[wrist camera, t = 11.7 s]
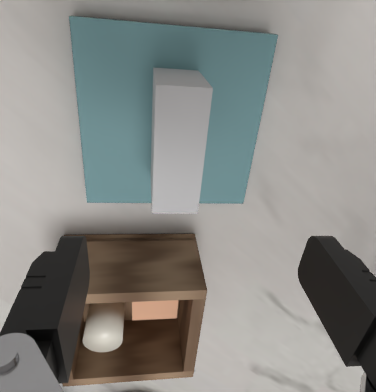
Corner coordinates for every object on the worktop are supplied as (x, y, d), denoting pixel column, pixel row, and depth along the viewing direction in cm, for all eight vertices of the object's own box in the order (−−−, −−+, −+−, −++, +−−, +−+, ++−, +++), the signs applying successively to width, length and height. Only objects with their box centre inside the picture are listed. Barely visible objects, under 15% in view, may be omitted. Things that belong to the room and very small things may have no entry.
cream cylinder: (124, 292, 32) (122, 327, 28) (125, 316, 34) (123, 351, 30) (87, 294, 31) (80, 329, 28) (90, 317, 33) (84, 353, 30)
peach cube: (175, 255, 30) (179, 287, 26) (173, 285, 32) (176, 318, 29) (133, 256, 29) (131, 289, 26) (133, 286, 31) (132, 320, 28)
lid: (268, 32, 22) (315, 43, 16) (237, 192, 28) (262, 242, 23) (74, 15, 20) (45, 20, 14) (90, 191, 27) (75, 244, 21)
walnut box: (194, 233, 30) (207, 290, 24) (184, 315, 36) (192, 376, 30) (64, 234, 28) (42, 295, 22) (77, 320, 34) (63, 386, 29)
